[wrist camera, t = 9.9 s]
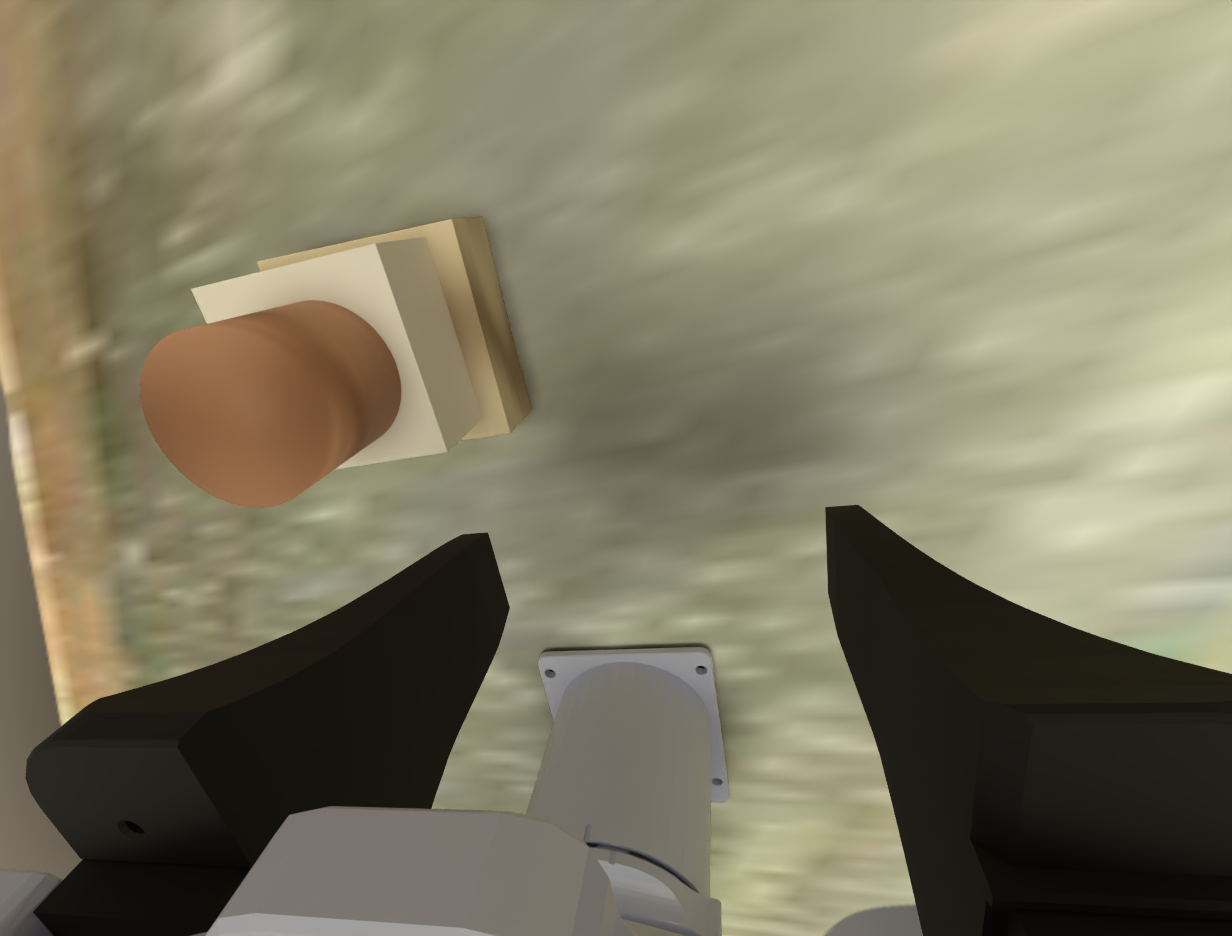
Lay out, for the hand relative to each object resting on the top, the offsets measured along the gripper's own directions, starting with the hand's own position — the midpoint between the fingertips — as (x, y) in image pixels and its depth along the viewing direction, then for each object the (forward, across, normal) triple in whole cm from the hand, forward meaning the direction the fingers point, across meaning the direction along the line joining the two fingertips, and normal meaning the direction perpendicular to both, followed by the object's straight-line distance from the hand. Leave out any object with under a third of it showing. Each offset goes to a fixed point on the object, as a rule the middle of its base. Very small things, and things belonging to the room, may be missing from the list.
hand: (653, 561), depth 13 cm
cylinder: (+5, +10, -4) cm, 11 cm away
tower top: (+8, +10, -4) cm, 13 cm away
